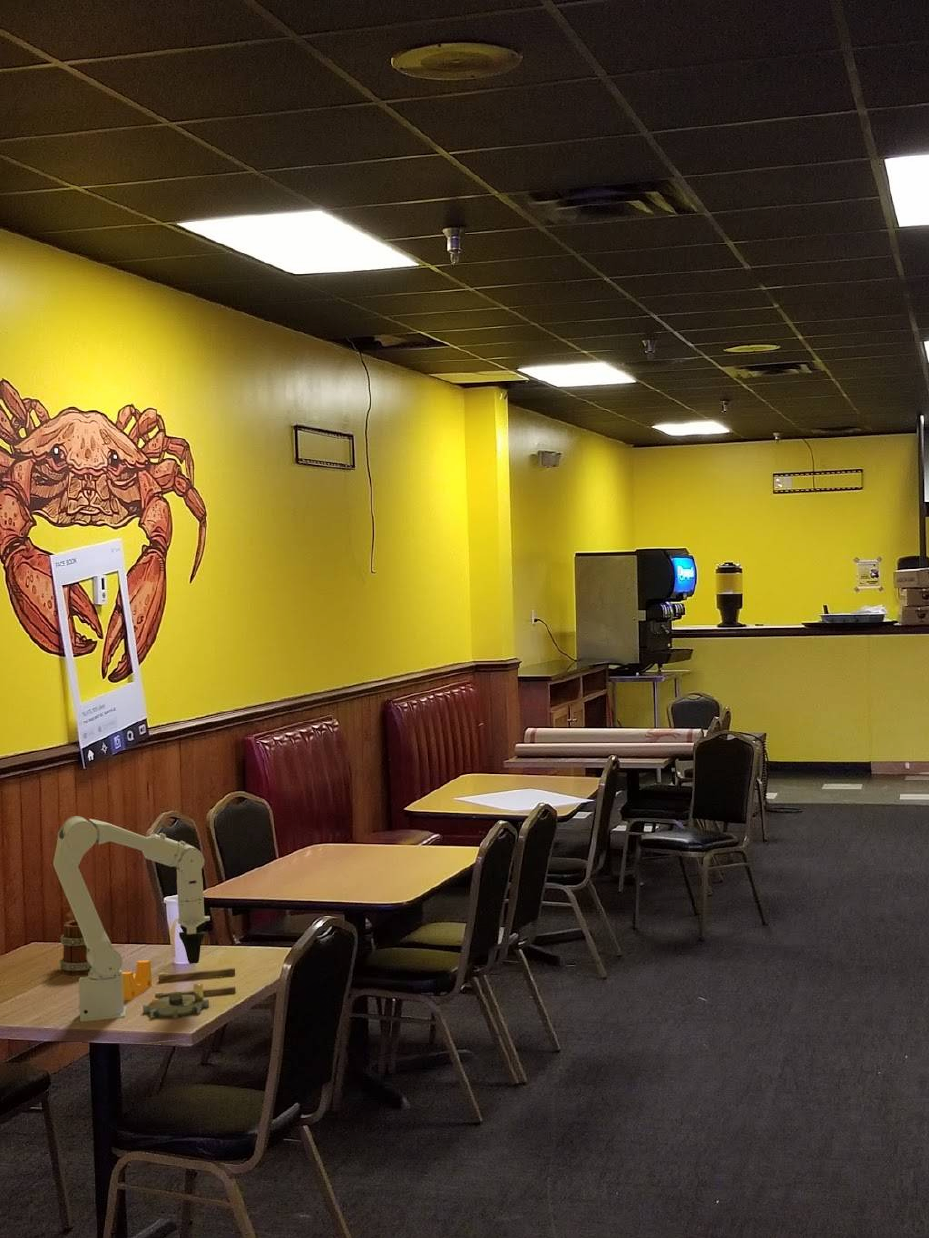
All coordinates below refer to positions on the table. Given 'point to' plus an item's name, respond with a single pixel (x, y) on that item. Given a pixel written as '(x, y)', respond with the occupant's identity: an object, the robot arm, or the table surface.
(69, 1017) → the table surface
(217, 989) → the guide rails
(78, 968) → the mug
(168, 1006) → the sprocket
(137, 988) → the pipe clamp
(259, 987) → the table surface
